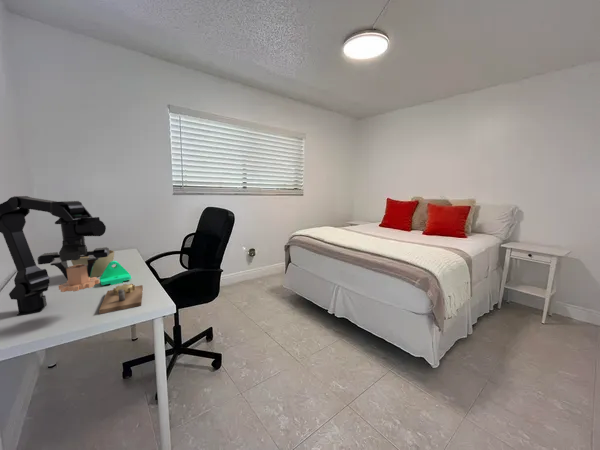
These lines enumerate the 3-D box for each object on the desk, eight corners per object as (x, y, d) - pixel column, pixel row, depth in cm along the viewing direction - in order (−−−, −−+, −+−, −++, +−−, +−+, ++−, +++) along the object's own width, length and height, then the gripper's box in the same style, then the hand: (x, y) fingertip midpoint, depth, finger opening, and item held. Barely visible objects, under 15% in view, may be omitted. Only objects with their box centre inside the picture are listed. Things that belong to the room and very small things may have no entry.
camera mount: (101, 287, 118) (99, 266, 116) (100, 283, 123) (97, 263, 122) (131, 281, 126) (129, 261, 124) (129, 277, 131) (127, 258, 130)
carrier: (99, 313, 92) (97, 298, 91) (108, 294, 110) (106, 280, 109) (141, 305, 98) (139, 291, 97) (142, 288, 116) (141, 275, 115)
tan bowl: (98, 281, 125) (95, 257, 124) (63, 281, 126) (60, 257, 124) (124, 270, 143) (122, 249, 142) (93, 270, 144) (90, 249, 142)
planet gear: (54, 294, 84) (50, 273, 83) (64, 284, 94) (61, 265, 93) (96, 287, 90) (93, 267, 89) (102, 278, 99) (99, 260, 98)
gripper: (26, 243, 78) (34, 290, 80) (101, 236, 87) (107, 279, 89) (41, 237, 87) (47, 280, 89) (107, 232, 96) (111, 271, 99)
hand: (79, 278), depth 91 cm, fingers closed on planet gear, 6 cm apart
